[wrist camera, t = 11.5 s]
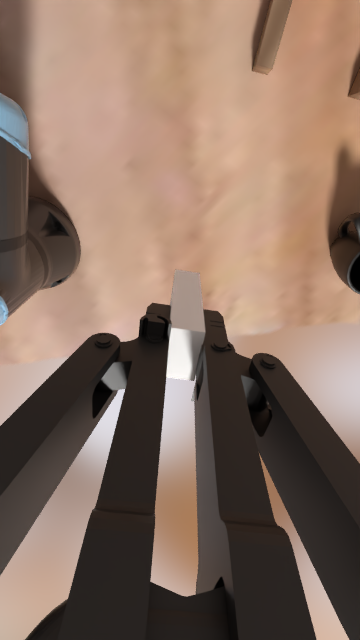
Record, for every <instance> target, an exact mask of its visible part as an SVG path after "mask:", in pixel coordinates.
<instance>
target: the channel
mask: <svg viewBox="0 0 360 640" xmlns="http://www.w3.org/2000/svg"><path fill="white" fill-rule="evenodd" d="M291 3H292V0H270V4H269V8H268V12H267V16H266V19H265V23H264V27H263V31H262V35H261V39H260V42H259V46H258V50H257V54H256V58H255V62H254V65H253V69H252V71H254V72H258V73H262V74H266V75H267V74H268V73H269V72H270V71H271V70H272V69H273V65H274V62H275V58H276V55H277V52H278V48H279V45H280V41H281V38H282V34H283V31H284V27H285V24H286V20H287V17H288V13H289V10H290V7H291ZM348 97H351V98H355V99H359V100H360V68H359V71H358V73H357V76H356V78H355V80H354V83H353V85H352V88H351V90H350V93H349V95H348Z"/></svg>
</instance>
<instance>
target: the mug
mask: <svg viewBox="0 0 360 640" xmlns="http://www.w3.org/2000/svg"><path fill="white" fill-rule="evenodd" d="M351 221H352V222H353V223H354V225H355V228H356V231H357V232H349V230H348V227H349V224H350V222H351ZM338 235H339V237H338V238H337V239H336V240H335V241H334V243H333V244H332V246H331V249H330V257H331V259H332V263H333V266H334V269H335V271H336V272H337V274H338V276H339V277H340V279H341V280H342V281H343V282H344V283H345V284H346V285H347V286H348V287H350V288H351V289H352V290H353V291H354V292H356V293H358V294H360V213H354V214H352V215H350V216H349V217H347V218H346V219H345V220H344V222H343V223H342V224H341V225H340V227H339V229H338Z"/></svg>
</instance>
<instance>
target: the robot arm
mask: <svg viewBox="0 0 360 640" xmlns="http://www.w3.org/2000/svg"><path fill="white" fill-rule="evenodd" d="M29 159H31V153H30V152H29V136H28V121H27V117H26V115H25V113H24V111H23V110H22V109H21V107H20V106H19V105H18V104H17V103H16V102H15V101H13V100H12V99H10V98H8V97H7V96H5V95H3V94H1V93H0V325H2V324H3V323H4V322H5V321H6V320H7V318H8V317H9V316H10V315H11V314H12V313H14V312H15V311H16V310H17V309H18V308H19V307H20V306H21V305H22V304H24V303H25V302H26V301H27V300H28V299H29V298H30V297H31V296H33V295H34V294H35V293H36V292H37V291H38V290H42V289H47V288H51V287H55V286H57V285H60V284H61V283H63V282H64V281H66V280H67V279H68V278H69V277H70V276H71V275H72V274H73V273H74V271H75V270H76V268H77V266H78V264H79V261H80V254H81V249H80V242H79V238H78V235H77V233H76V231H75V229H74V227H73V225H72V224H71V222H70V221H69V219H68V218H67V217H66V216H65V215H64V214H63V213H62V212H61V211H60V210H59V209H58V208H56V207H55V206H53V205H52V204H50V203H49V202H47V201H44V200H42V199H39V198H36V197H31V196H28V183H29ZM195 375H196V383H195V387H194V392H193V396H192V401H194V400H195V401H194V402H195V439H196V476H197V477H196V480H197V518H198V554H199V555H198V557H199V561H198V562H199V564H198V575H197V582H196V595H192V596H188V597H185V596H181V595H178V594H176V593H174V592H172V591H170V590H167V589H165V588H163V587H161V586H158V585H156V584H154V583H152V582H150V578H151V566H152V554H153V553H152V552H153V542H154V529H155V500H156V488H157V476H158V465H159V454H160V442H161V431H162V419H163V408H164V396H165V384H166V377H167V378H176V379H183V380H191V381H194V379H195ZM119 389H125V393H124V396H123V400H122V404H121V408H120V412H119V417H118V421H117V425H116V428H115V432H114V436H113V440H112V444H111V448H110V452H109V456H108V460H107V464H106V468H105V472H104V476H103V480H102V484H101V488H100V492H99V496H98V500H97V503H96V506H95V508H94V509H93V510H92V513H91V515H90V518H89V522H88V525H87V529H86V532H85V536H84V540H83V544H82V548H81V552H80V555H79V559H78V563H77V567H76V571H75V574H74V578H73V582H72V586H71V590H70V593H69V597H68V599H67V600H65V601H64V602H63V603H61V604H60V605H59V606H57V607H56V608H55V609H53V610H52V611H51V612H50V613H49V614H48V615H47V616H46V617H45V618H44V619H43V620H42V621H41V622H40V623H39V624H38V625H37V627H35V629H34V630H33V631H32V632H31V633H30V634H29V636H28V637H27V638H26V639H25V640H316V636H315V632H314V628H313V624H312V621H311V617H310V613H309V609H308V605H307V602H306V598H305V594H304V590H303V586H302V583H301V579H300V575H299V571H298V567H297V563H296V559H295V556H294V552H293V548H292V545H291V542H290V539H289V536H288V535H287V533H286V531H285V530H284V529H283V528H281V527H280V526H278V525H277V524H276V522H275V519H274V516H273V512H272V508H271V504H270V499H269V495H268V491H267V486H266V482H265V478H264V473H263V469H262V465H261V461H260V456H259V453H260V455H261V458H262V460H263V462H264V464H265V466H266V468H267V470H268V472H269V474H270V476H271V478H272V481H273V483H274V485H275V487H276V489H277V491H278V493H279V495H280V497H281V499H282V501H283V503H284V506H285V508H286V510H287V512H288V514H289V516H290V518H291V520H292V522H293V524H294V526H295V528H296V531H297V533H298V535H299V536H300V539H301V541H302V543H303V545H304V547H305V549H306V551H307V553H308V555H309V558H310V560H311V562H312V564H313V566H314V568H315V570H316V572H317V574H318V576H319V578H320V580H321V583H322V585H323V587H324V589H325V591H326V593H327V595H328V597H329V599H330V601H331V603H332V605H333V608H334V609H335V612H336V614H337V616H338V618H339V620H340V622H341V624H342V626H343V628H344V630H345V631H346V634H347V636H348V638H349V640H360V464H359V462H358V461H357V460H356V458H355V457H354V456H353V454H352V453H351V452H350V451H349V449H348V448H347V447H346V445H345V444H344V443H343V441H342V440H341V439H340V437H339V436H338V435H337V434H336V432H335V431H334V430H333V428H332V427H331V426H330V424H329V423H328V422H327V421H326V419H325V418H324V417H323V416H322V414H321V413H320V411H319V410H318V409H317V408H316V406H315V405H314V404H313V402H312V401H311V400H310V398H309V397H308V396H307V395H306V393H305V392H304V391H303V389H302V388H301V387H300V385H299V384H298V383H297V382H296V380H295V379H294V378H293V376H292V375H291V374H290V372H289V371H288V370H287V369H286V368H285V366H284V365H283V363H282V362H281V361H280V360H279V359H277V358H276V357H274V356H272V355H269V354H266V353H258V354H255V355H254V356H253V358H252V359H249V358H246V357H244V356H241V355H239V354H237V353H236V352H235V349H234V347H233V345H232V344H231V343H230V342H228V339H227V334H226V329H225V325H224V320H223V316H222V315H221V314H220V313H219V312H218V311H211V310H204V309H203V302H202V292H201V282H200V273H196V272H190V271H183V270H176V269H175V275H174V282H173V288H172V295H171V302H170V305H164V304H157V303H152V304H151V305H150V306H148V307H147V311H146V315H145V316H143V317H142V318H141V319H140V327H139V337H138V338H136V339H135V340H132V341H127V342H120V340H119V338H118V337H117V336H115V335H113V334H109V333H98V334H95V335H92V336H91V337H89V338H88V339H87V340H86V341H85V342H84V343H83V344H82V345H81V346H80V347H79V348H78V349H77V350H76V351H75V352H74V353H73V354H72V355H71V356H70V357H69V358H68V359H67V360H66V361H65V362H64V363H63V364H62V365H61V366H60V367H59V368H58V369H57V370H56V371H55V372H54V373H53V374H52V375H51V376H50V377H49V378H48V379H47V380H46V381H45V382H44V383H43V384H42V385H41V386H40V387H39V388H38V389H37V390H36V391H35V392H34V393H33V394H32V395H31V396H30V397H29V398H28V399H27V400H26V401H25V402H24V403H23V404H22V405H21V406H20V407H19V408H18V409H17V410H16V411H15V412H14V413H13V414H12V415H11V416H10V417H9V418H8V419H7V420H6V421H5V422H4V423H3V424H2V425H1V426H0V575H1V573H2V572H3V570H4V569H5V567H6V566H7V564H8V563H9V561H10V559H11V558H12V556H13V555H14V553H15V552H16V550H17V549H18V547H19V545H20V544H21V542H22V541H23V539H24V538H25V536H26V535H27V533H28V531H29V530H30V528H31V527H32V525H33V524H34V522H35V520H36V519H37V517H38V516H39V514H40V513H41V511H42V510H43V508H44V506H45V505H46V503H47V501H48V500H49V498H50V497H51V495H52V494H53V492H54V491H55V489H56V488H57V486H58V485H59V483H60V481H61V480H62V478H63V477H64V475H65V474H66V472H67V470H68V469H69V467H70V466H71V464H72V463H73V461H74V459H75V458H76V456H77V455H78V453H79V452H80V450H81V449H82V447H83V446H84V444H85V442H86V441H87V439H88V437H89V436H90V435H91V433H92V431H93V430H94V428H95V427H96V425H97V424H98V422H99V420H100V419H101V417H102V416H103V414H104V413H105V411H106V410H107V408H108V406H109V405H110V403H111V402H112V400H113V399H114V397H115V396H116V394H117V391H118V390H119ZM258 451H259V452H258Z"/></svg>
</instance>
